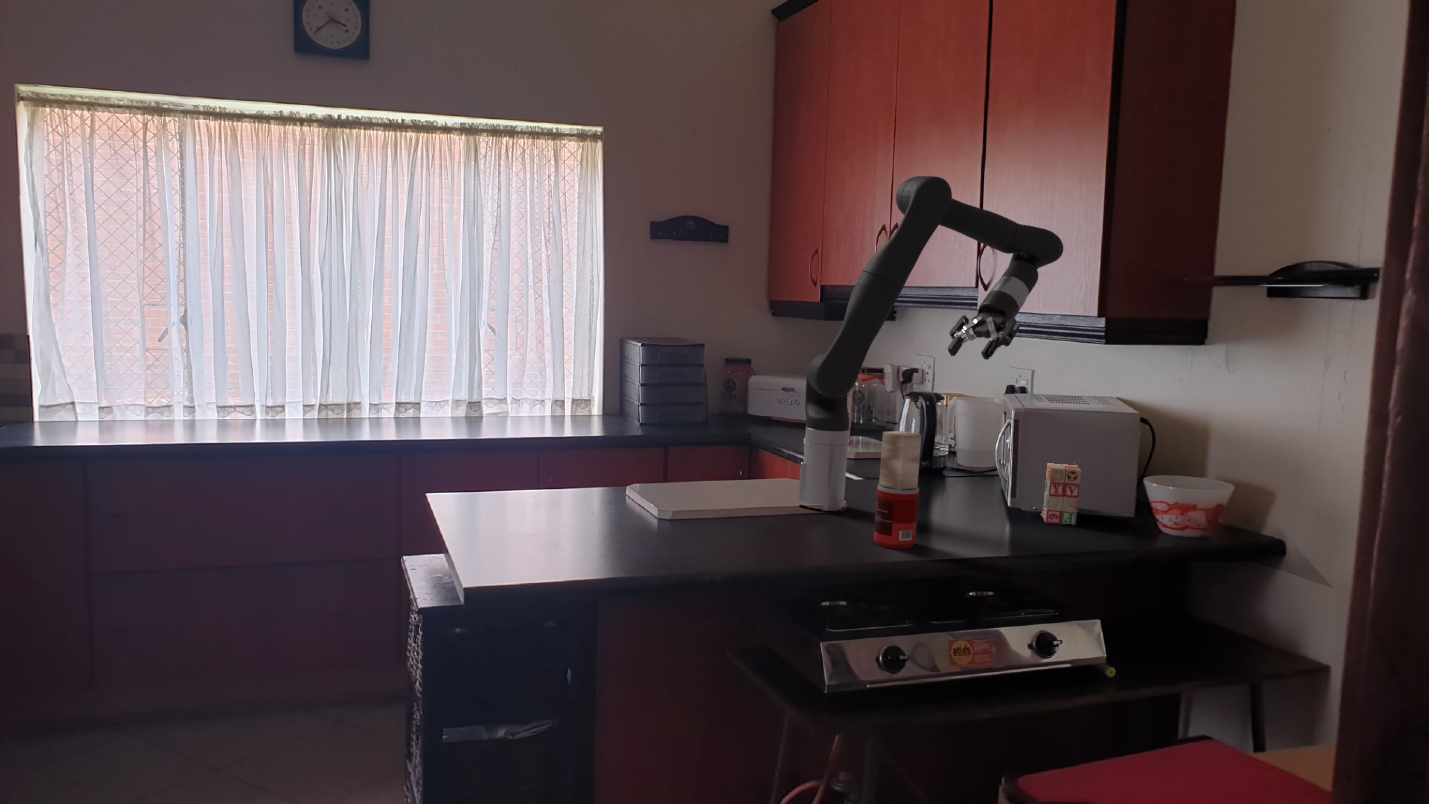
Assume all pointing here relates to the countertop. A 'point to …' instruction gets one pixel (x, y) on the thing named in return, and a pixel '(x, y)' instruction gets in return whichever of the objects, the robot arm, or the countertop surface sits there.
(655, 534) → the countertop surface
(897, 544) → the canned food
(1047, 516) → the stack of blocks
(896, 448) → the oak block
